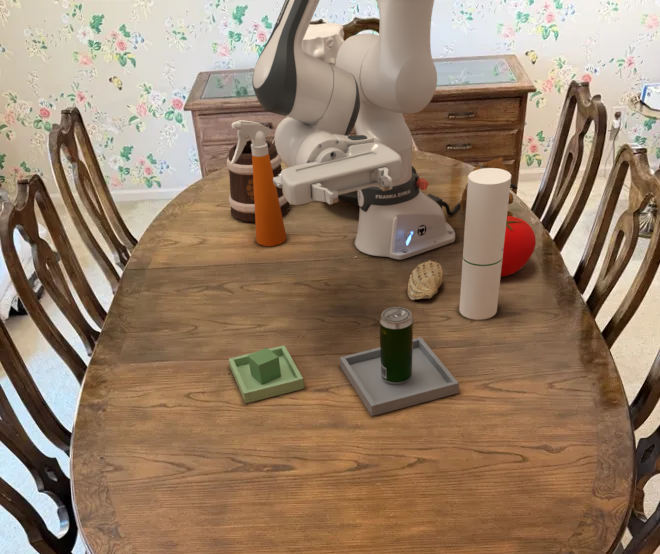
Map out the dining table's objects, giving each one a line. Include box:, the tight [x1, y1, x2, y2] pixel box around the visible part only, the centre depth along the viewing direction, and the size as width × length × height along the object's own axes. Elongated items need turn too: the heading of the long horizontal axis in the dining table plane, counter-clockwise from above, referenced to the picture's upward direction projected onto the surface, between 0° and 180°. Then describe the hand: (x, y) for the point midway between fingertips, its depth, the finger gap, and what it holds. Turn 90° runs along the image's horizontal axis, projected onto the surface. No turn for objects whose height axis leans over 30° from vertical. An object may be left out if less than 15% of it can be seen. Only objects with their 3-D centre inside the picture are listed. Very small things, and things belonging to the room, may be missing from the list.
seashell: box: [407, 259, 445, 301], centre depth 144 cm, size 8×6×10 cm
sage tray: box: [228, 344, 305, 404], centre depth 127 cm, size 11×12×2 cm
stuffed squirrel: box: [458, 157, 514, 217], centre depth 163 cm, size 10×14×13 cm
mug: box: [226, 139, 291, 224], centre depth 173 cm, size 20×15×15 cm
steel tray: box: [339, 336, 460, 417], centre depth 124 cm, size 16×16×2 cm
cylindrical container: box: [458, 168, 512, 321], centre depth 130 cm, size 7×7×25 cm
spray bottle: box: [231, 119, 287, 247], centre depth 157 cm, size 7×11×26 cm, turn 127°
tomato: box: [500, 215, 537, 278], centre depth 146 cm, size 14×13×10 cm
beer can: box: [379, 306, 414, 385], centre depth 120 cm, size 5×5×12 cm
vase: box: [286, 22, 351, 136], centre depth 185 cm, size 17×16×32 cm
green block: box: [248, 347, 281, 384], centre depth 126 cm, size 4×4×4 cm
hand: (361, 191), depth 113 cm, fingers open, 8 cm apart
